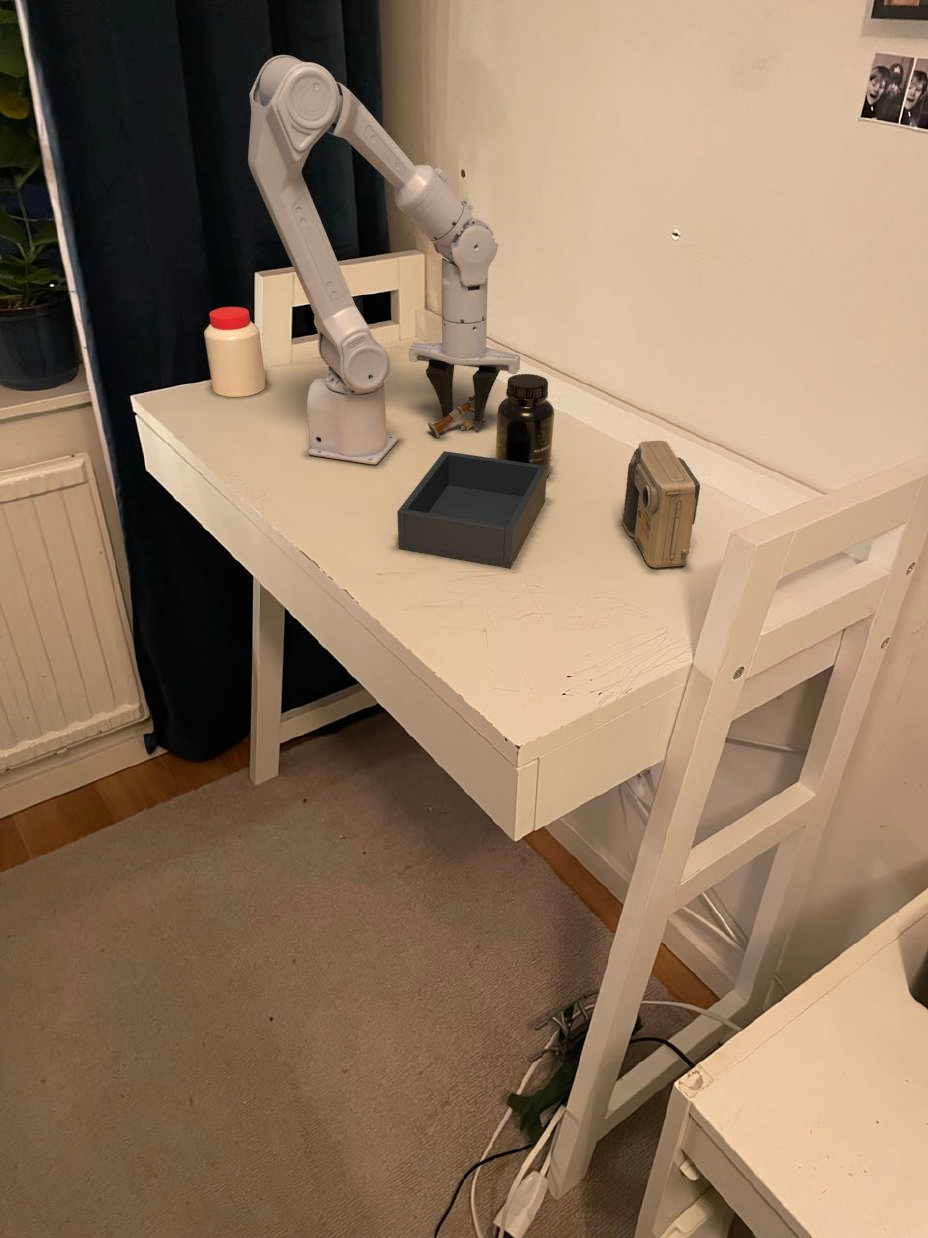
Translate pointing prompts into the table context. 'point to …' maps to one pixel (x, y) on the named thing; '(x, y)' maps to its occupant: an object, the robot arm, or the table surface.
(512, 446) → the supplement bottle
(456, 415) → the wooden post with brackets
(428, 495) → the bin
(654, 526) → the camera
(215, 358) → the pill bottle
